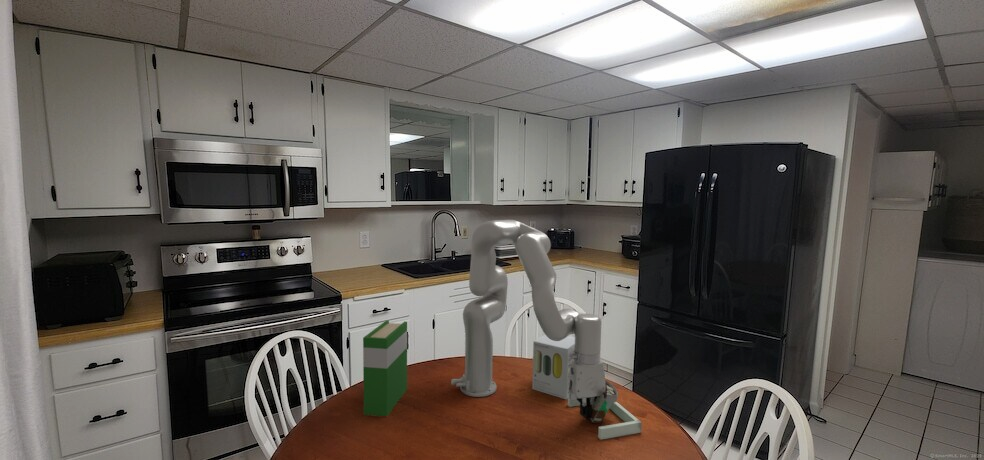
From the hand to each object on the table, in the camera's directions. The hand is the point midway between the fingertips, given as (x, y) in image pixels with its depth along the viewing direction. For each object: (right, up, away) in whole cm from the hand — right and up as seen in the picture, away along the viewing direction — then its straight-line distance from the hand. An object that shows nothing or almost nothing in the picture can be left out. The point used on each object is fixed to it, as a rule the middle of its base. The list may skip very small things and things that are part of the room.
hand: (585, 416), depth 119 cm
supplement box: (-5, 0, +22) cm, 23 cm away
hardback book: (-62, 0, +10) cm, 63 cm away
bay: (+5, -2, +2) cm, 6 cm away
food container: (+4, -1, +3) cm, 5 cm away
